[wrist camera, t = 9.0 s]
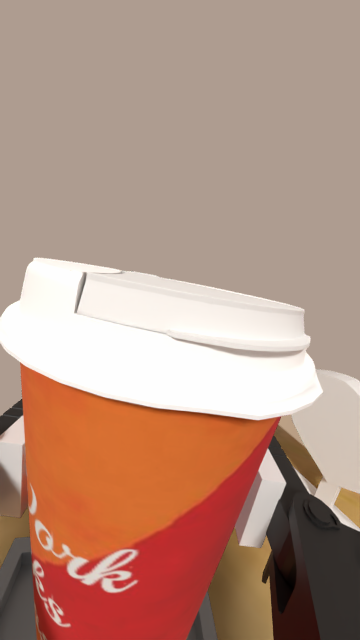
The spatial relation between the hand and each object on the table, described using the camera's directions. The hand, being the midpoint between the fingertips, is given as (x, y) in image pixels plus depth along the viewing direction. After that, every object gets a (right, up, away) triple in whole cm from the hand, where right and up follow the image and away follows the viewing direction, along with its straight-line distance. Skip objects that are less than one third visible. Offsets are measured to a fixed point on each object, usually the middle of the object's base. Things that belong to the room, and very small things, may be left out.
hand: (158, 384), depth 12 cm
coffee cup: (-2, -9, -3) cm, 10 cm away
